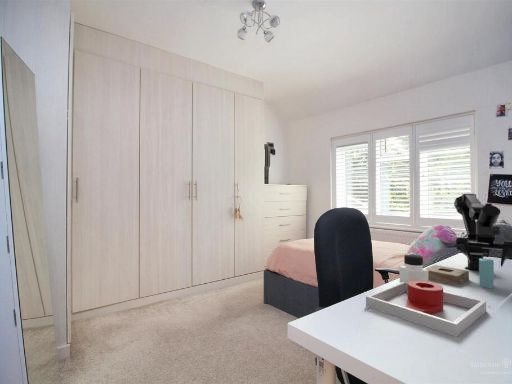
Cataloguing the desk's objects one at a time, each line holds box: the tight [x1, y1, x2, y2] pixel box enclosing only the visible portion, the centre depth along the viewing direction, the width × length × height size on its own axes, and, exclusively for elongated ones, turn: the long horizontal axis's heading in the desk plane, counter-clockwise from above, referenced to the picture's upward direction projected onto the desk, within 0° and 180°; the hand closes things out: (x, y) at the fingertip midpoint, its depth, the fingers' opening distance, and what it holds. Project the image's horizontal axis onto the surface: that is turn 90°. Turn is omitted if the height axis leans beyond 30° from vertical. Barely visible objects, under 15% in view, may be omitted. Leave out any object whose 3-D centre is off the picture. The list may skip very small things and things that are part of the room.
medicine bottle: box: [399, 253, 430, 283], centre depth 106 cm, size 7×7×12 cm
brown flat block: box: [425, 264, 470, 287], centre depth 114 cm, size 12×12×4 cm
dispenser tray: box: [365, 282, 487, 338], centre depth 86 cm, size 24×24×3 cm
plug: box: [478, 258, 495, 289], centre depth 106 cm, size 4×4×10 cm
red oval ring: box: [405, 281, 444, 316], centre depth 85 cm, size 18×9×7 cm, turn 134°
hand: (485, 264), depth 108 cm, fingers open, 9 cm apart
